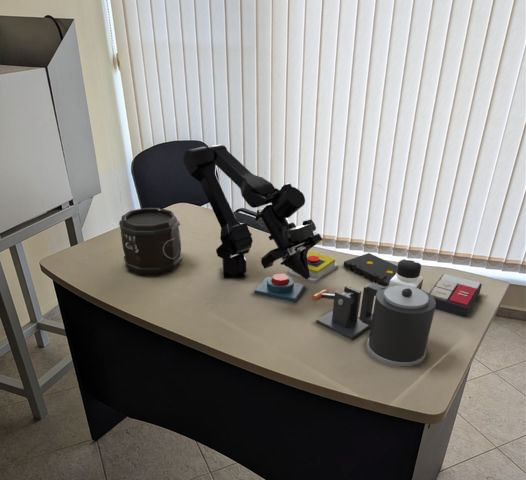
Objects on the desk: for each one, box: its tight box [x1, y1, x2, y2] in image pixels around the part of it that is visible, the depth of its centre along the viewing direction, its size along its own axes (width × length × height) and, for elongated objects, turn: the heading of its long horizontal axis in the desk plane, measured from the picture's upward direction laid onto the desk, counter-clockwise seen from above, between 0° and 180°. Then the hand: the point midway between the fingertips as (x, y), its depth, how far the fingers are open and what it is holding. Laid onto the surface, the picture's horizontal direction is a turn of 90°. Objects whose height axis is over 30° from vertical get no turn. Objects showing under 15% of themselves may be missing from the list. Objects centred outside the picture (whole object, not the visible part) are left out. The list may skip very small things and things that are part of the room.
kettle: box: [359, 282, 436, 367], centre depth 114 cm, size 17×14×16 cm
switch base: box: [315, 285, 371, 341], centre depth 123 cm, size 11×9×10 cm
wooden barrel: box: [118, 207, 183, 277], centre depth 150 cm, size 18×18×16 cm
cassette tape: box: [343, 252, 398, 287], centre depth 151 cm, size 18×12×2 cm, turn 37°
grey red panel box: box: [428, 273, 483, 318], centre depth 137 cm, size 11×4×15 cm
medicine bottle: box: [389, 258, 424, 289], centre depth 134 cm, size 7×7×12 cm
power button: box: [272, 272, 289, 285], centre depth 138 cm, size 4×4×2 cm
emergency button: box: [289, 251, 339, 282], centre depth 152 cm, size 9×4×15 cm
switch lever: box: [311, 288, 355, 304], centre depth 124 cm, size 11×5×2 cm, turn 46°
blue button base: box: [253, 275, 306, 303], centre depth 139 cm, size 12×9×4 cm
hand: (308, 278), depth 128 cm, fingers closed
